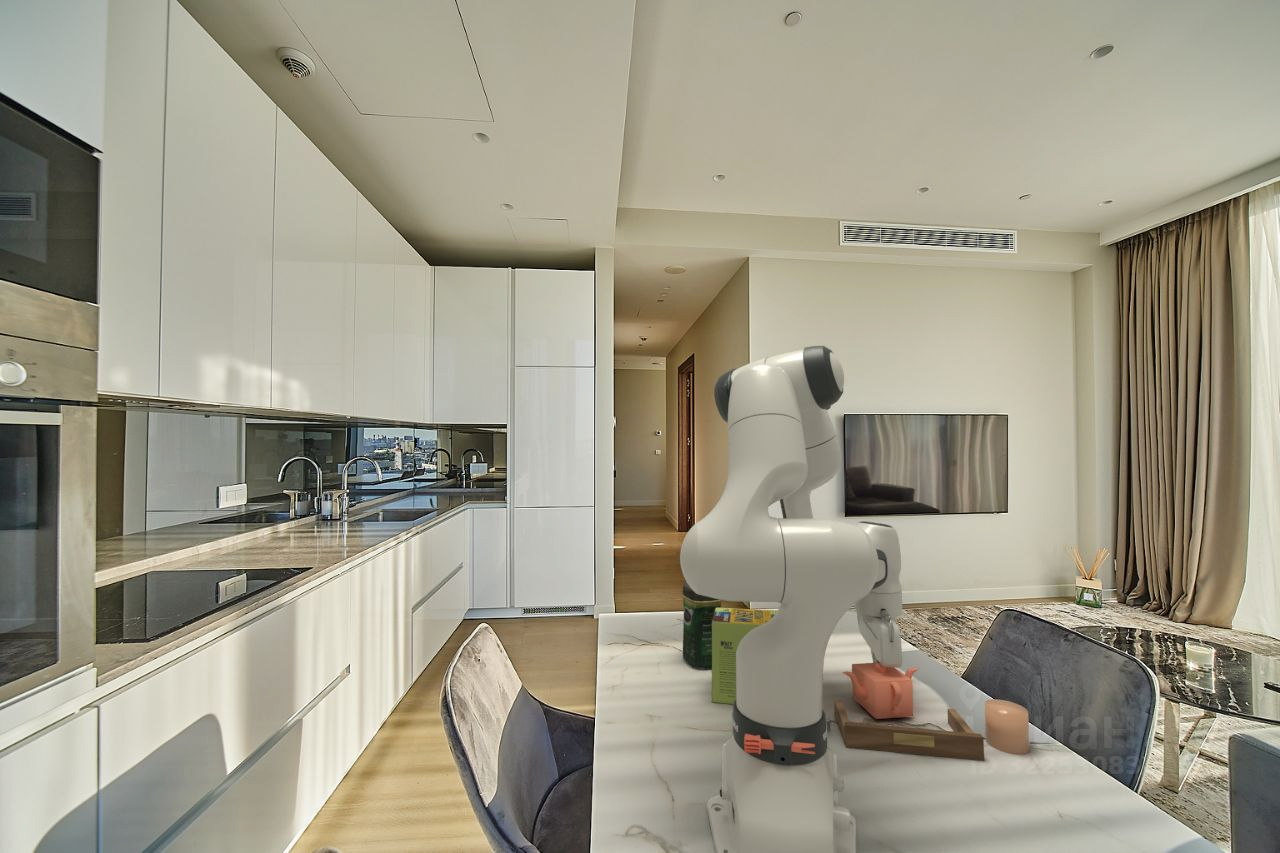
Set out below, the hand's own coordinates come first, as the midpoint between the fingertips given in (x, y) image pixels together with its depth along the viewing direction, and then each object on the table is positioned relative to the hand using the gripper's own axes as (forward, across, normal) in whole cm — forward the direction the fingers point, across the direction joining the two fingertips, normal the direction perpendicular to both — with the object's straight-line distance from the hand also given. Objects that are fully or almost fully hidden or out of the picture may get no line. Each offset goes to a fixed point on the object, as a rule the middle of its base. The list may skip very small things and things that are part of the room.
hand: (879, 673), depth 108 cm
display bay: (+4, -16, 0) cm, 17 cm away
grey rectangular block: (+4, -18, +16) cm, 25 cm away
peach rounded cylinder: (+4, -16, -16) cm, 23 cm away
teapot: (+4, -7, +1) cm, 9 cm away
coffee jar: (+4, +10, +36) cm, 38 cm away
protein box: (+4, -5, +25) cm, 26 cm away
